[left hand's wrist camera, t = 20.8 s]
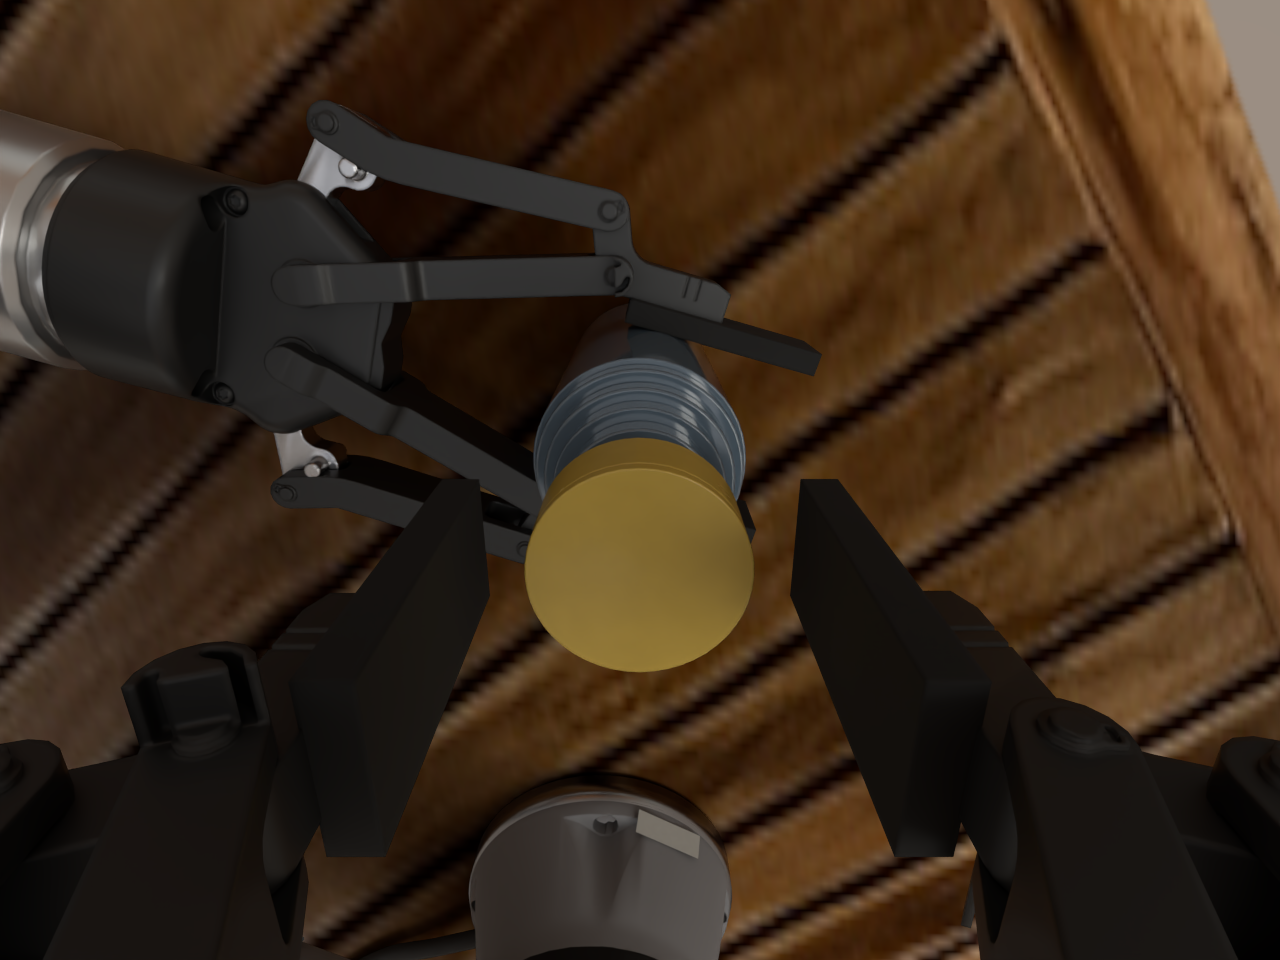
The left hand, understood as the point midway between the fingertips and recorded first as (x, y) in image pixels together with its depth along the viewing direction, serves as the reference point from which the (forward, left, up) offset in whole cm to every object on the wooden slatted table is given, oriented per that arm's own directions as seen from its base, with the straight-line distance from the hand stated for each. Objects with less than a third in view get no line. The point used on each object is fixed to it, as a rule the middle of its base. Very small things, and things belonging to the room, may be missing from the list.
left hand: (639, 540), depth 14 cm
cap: (0, 0, +1) cm, 1 cm away
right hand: (+3, -4, -11) cm, 12 cm away
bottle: (0, 0, -17) cm, 17 cm away
